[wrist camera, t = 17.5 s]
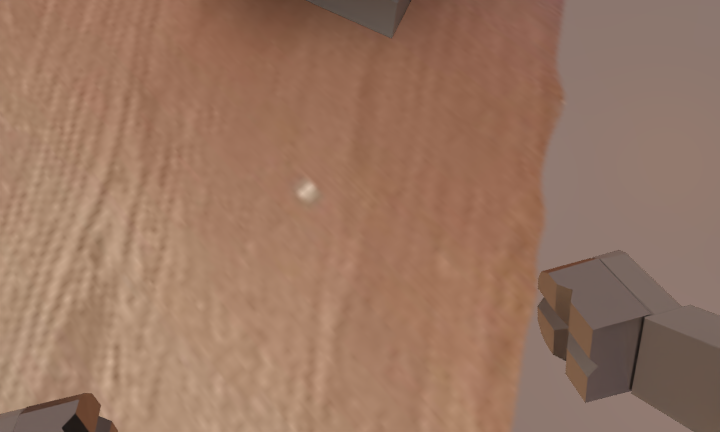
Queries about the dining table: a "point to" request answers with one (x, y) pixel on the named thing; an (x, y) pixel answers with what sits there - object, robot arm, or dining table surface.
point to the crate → (369, 12)
